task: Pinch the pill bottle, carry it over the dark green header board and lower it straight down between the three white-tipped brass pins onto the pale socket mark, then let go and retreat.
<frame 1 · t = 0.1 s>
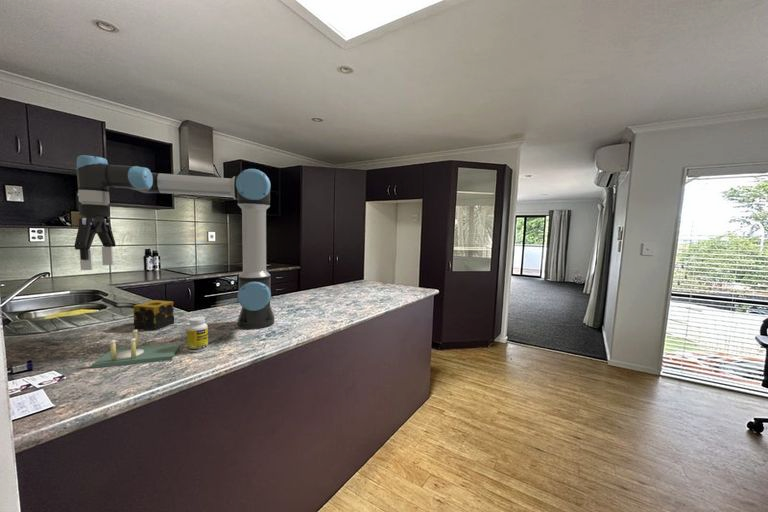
hand: (98, 267, 104), 28 cm above the counter, fingers open, 13 cm apart
pill bottle: (198, 350, 107), on the counter
yellow-topped dark cube: (154, 326, 130), on the counter
header board: (141, 356, 100), on the counter
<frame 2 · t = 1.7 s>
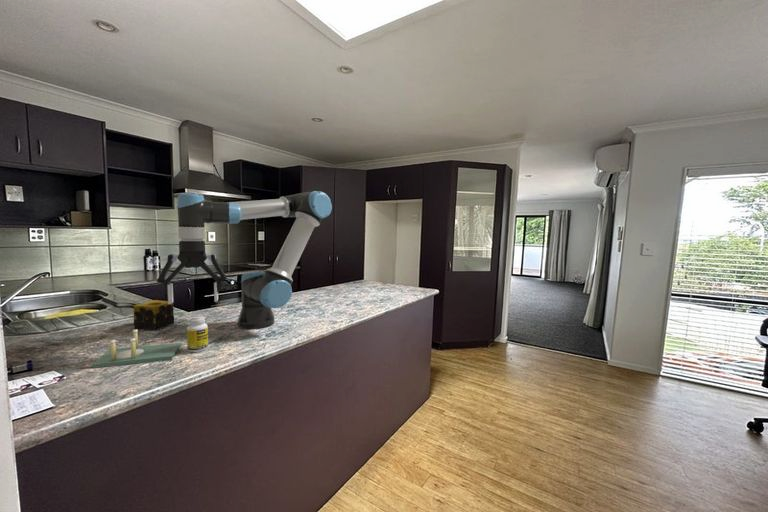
hand: (194, 302, 105), 17 cm above the counter, fingers open, 13 cm apart
nothing on the counter moved.
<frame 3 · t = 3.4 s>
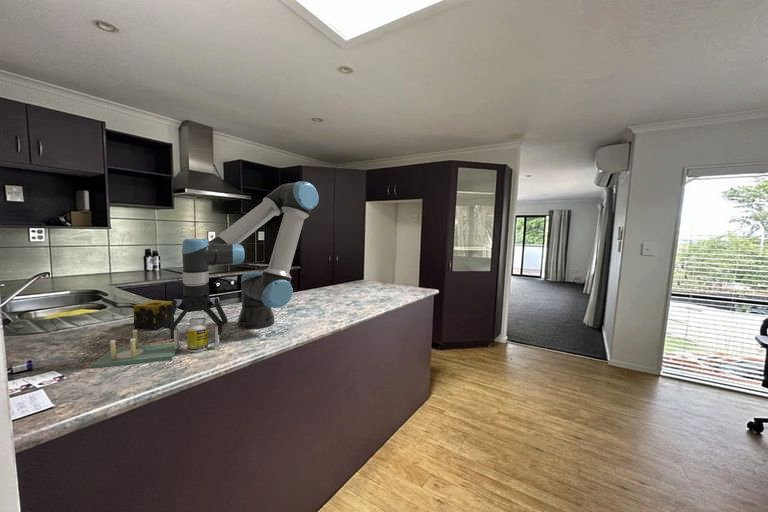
hand: (197, 345, 107), 1 cm above the counter, fingers open, 12 cm apart
nothing on the counter moved.
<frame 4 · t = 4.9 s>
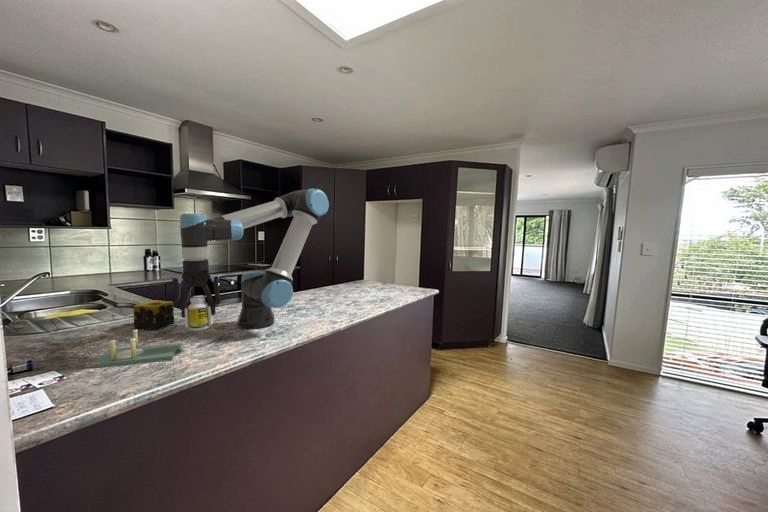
hand: (199, 325, 107), 9 cm above the counter, fingers closed on pill bottle, 6 cm apart
pill bottle: (200, 328, 107), point 7 cm above the counter, touching gripper
everything else where it was.
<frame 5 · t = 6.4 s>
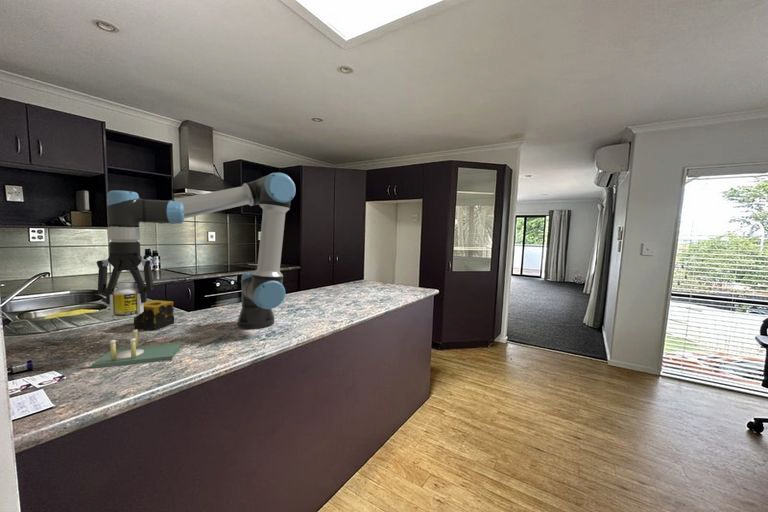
hand: (127, 313, 98), 15 cm above the counter, fingers closed on pill bottle, 6 cm apart
pill bottle: (127, 317, 98), point 13 cm above the counter, touching gripper
everything else where it was.
when the fingers open (3 cm above the counter, at t = 8.3 s): pill bottle stays where it is, resting on header board.
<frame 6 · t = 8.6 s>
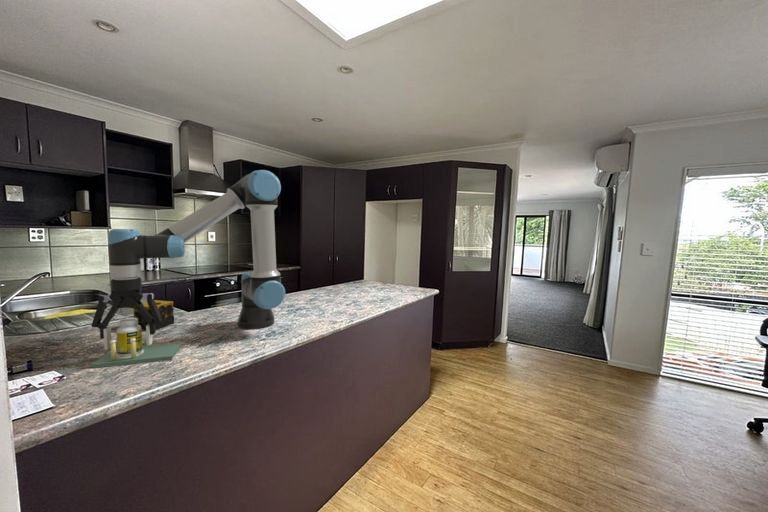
hand: (129, 345, 99), 4 cm above the counter, fingers open, 10 cm apart
pill bottle: (130, 353, 99), point 1 cm above the counter, touching header board
everything else where it was.
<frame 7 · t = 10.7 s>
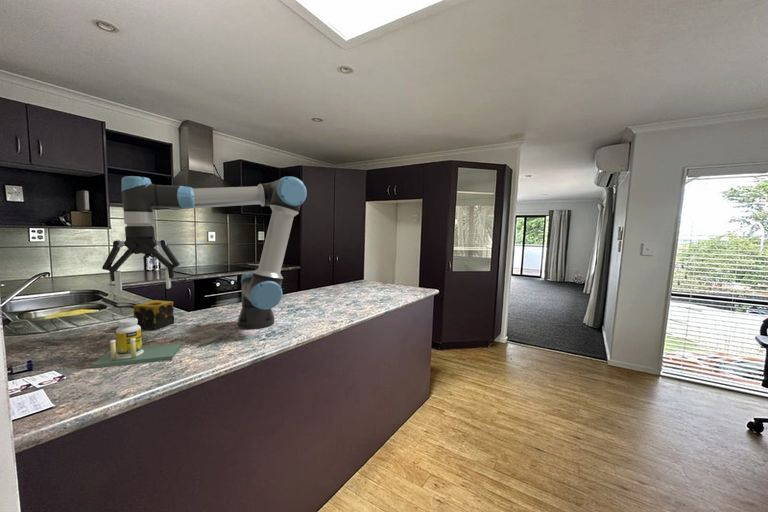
hand: (144, 289, 102), 21 cm above the counter, fingers open, 13 cm apart
nothing on the counter moved.
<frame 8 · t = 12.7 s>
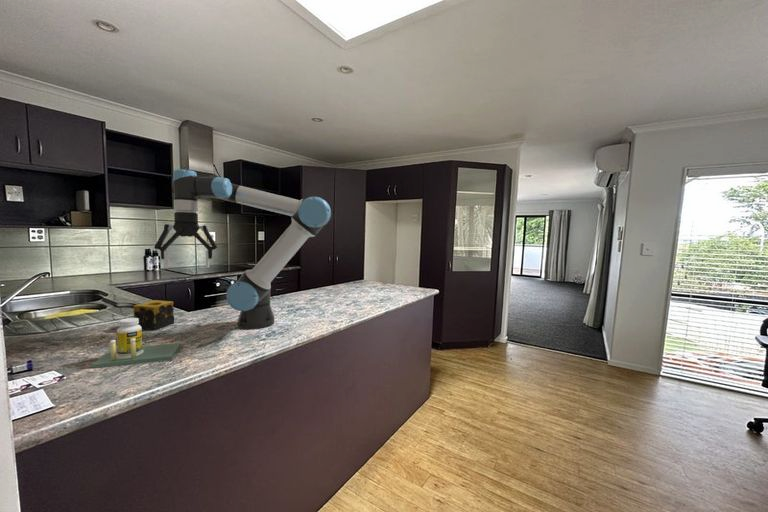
hand: (187, 267, 118), 27 cm above the counter, fingers open, 13 cm apart
nothing on the counter moved.
at the end: pill bottle 0.1 cm from the target spot on the header board, point 1.1 cm above the header board's base; pill bottle tilted 1°; the gripper is holding nothing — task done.
